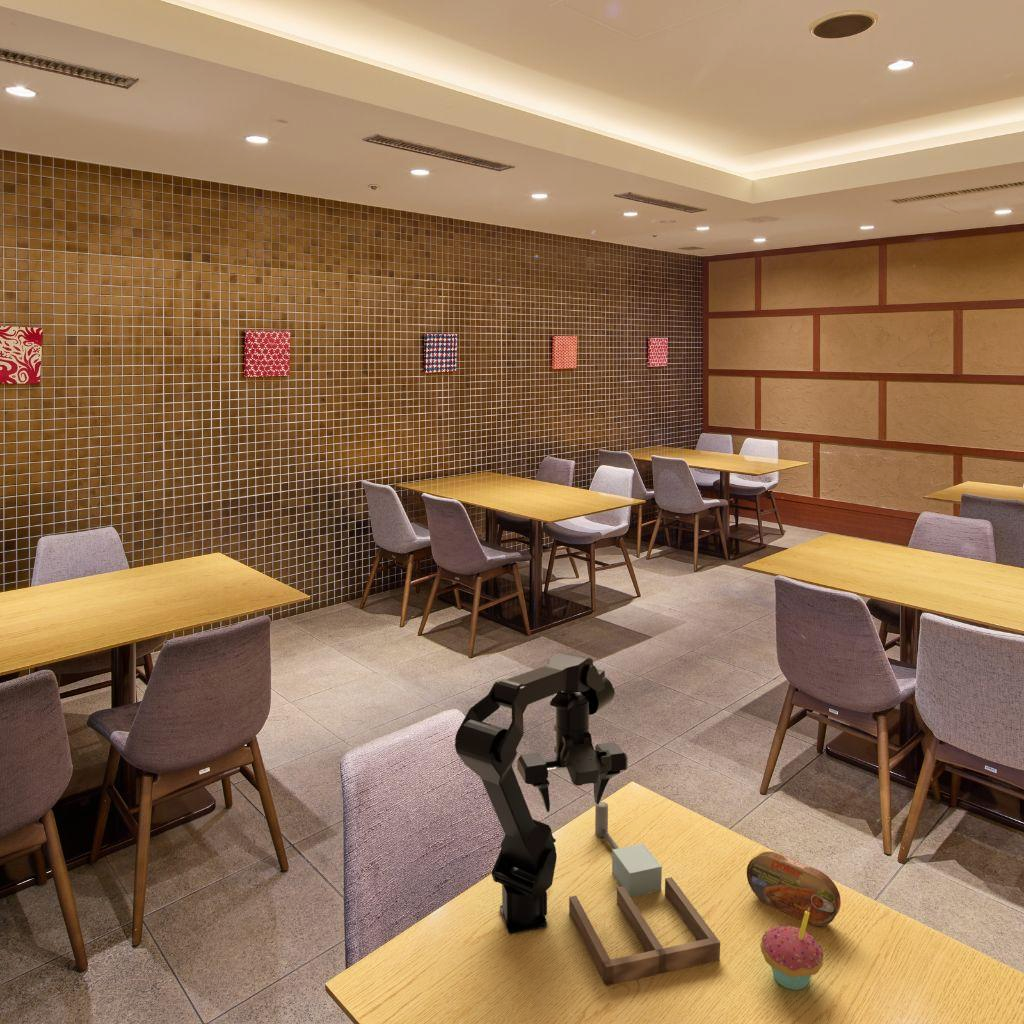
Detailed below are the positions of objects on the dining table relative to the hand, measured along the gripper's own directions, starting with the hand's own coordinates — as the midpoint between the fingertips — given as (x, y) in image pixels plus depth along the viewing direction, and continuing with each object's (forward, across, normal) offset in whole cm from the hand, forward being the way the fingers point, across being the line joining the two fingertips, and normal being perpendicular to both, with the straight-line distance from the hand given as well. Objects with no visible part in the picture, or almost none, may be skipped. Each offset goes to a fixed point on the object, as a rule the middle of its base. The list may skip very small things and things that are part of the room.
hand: (572, 806), depth 136 cm
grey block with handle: (+12, +9, 0) cm, 15 cm away
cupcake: (+12, +22, -33) cm, 42 cm away
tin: (+12, +31, -20) cm, 39 cm away
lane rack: (+12, +5, -19) cm, 23 cm away
